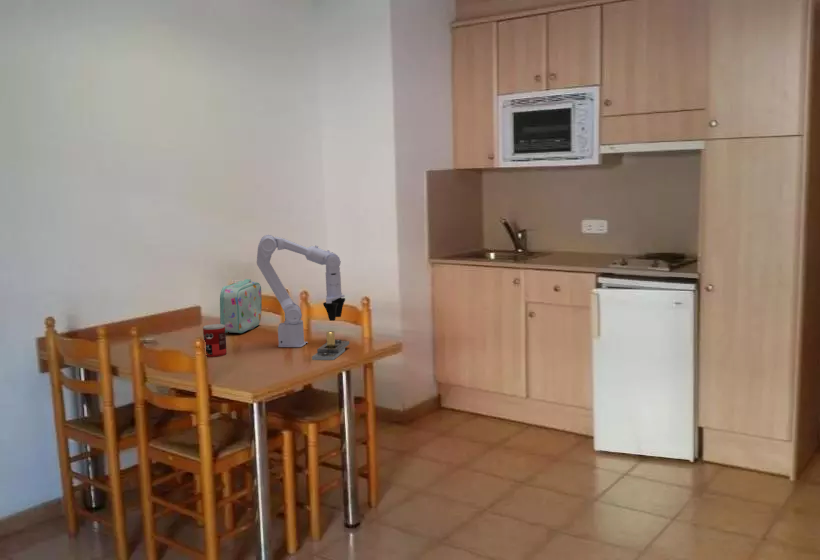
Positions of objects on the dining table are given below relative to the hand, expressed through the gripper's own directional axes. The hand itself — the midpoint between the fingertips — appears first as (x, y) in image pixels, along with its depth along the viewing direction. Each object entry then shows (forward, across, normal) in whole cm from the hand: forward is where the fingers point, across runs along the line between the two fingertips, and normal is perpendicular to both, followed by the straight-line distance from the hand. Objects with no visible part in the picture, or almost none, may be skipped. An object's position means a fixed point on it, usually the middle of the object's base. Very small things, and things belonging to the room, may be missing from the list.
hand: (335, 318), depth 316 cm
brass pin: (+9, -19, -4) cm, 22 cm away
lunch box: (+10, +24, +50) cm, 56 cm away
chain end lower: (+9, -22, -4) cm, 24 cm away
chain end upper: (+8, -16, -4) cm, 18 cm away
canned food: (+10, -23, +40) cm, 47 cm away
